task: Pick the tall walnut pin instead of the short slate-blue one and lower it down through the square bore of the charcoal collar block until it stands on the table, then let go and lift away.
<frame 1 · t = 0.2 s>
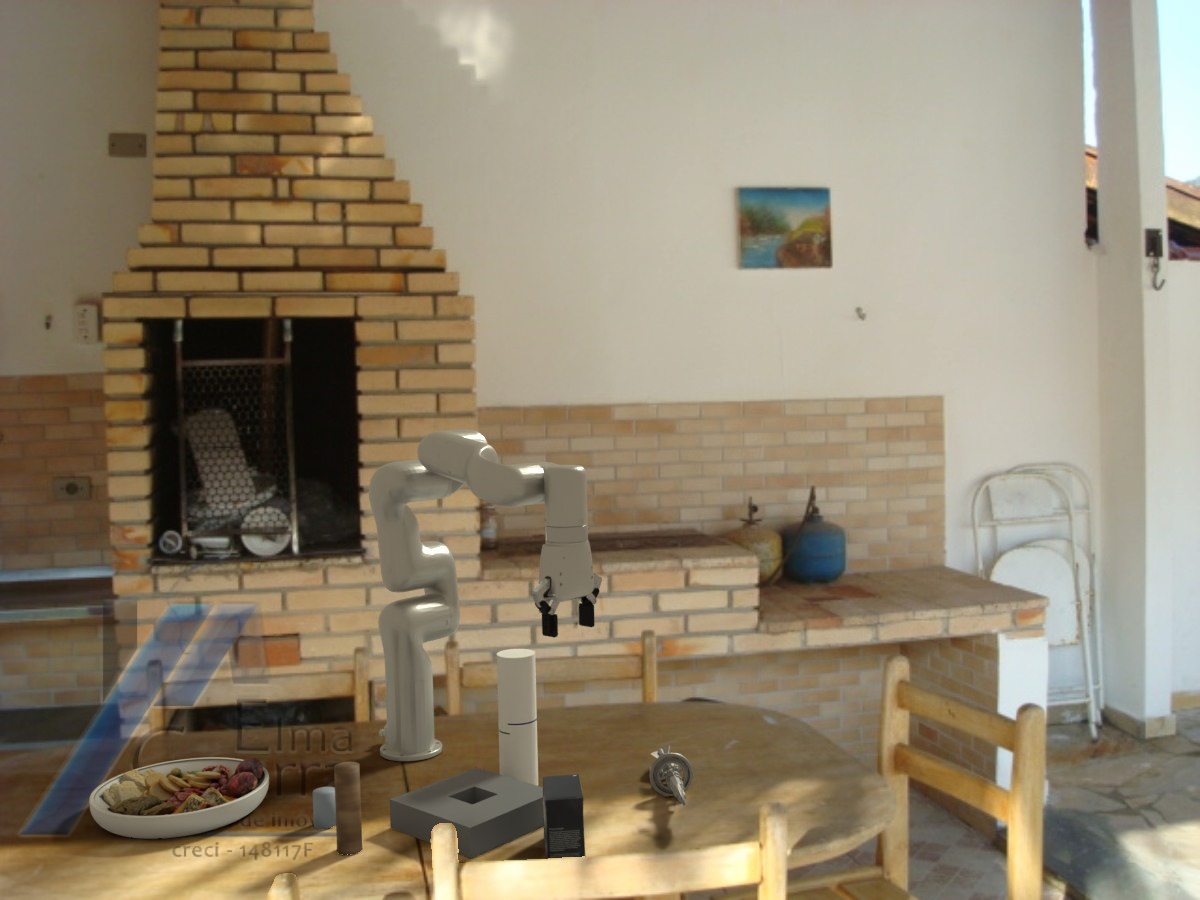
hand: (568, 631, 201), 31 cm above the table, fingers open, 9 cm apart
small box: (564, 850, 183), on the table
cylindrical container: (519, 786, 212), on the table
collar block: (474, 823, 194), on the table
short pin: (325, 825, 195), on the table
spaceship: (671, 797, 205), on the table
long pin: (349, 850, 184), on the table
bowl: (182, 813, 203), on the table
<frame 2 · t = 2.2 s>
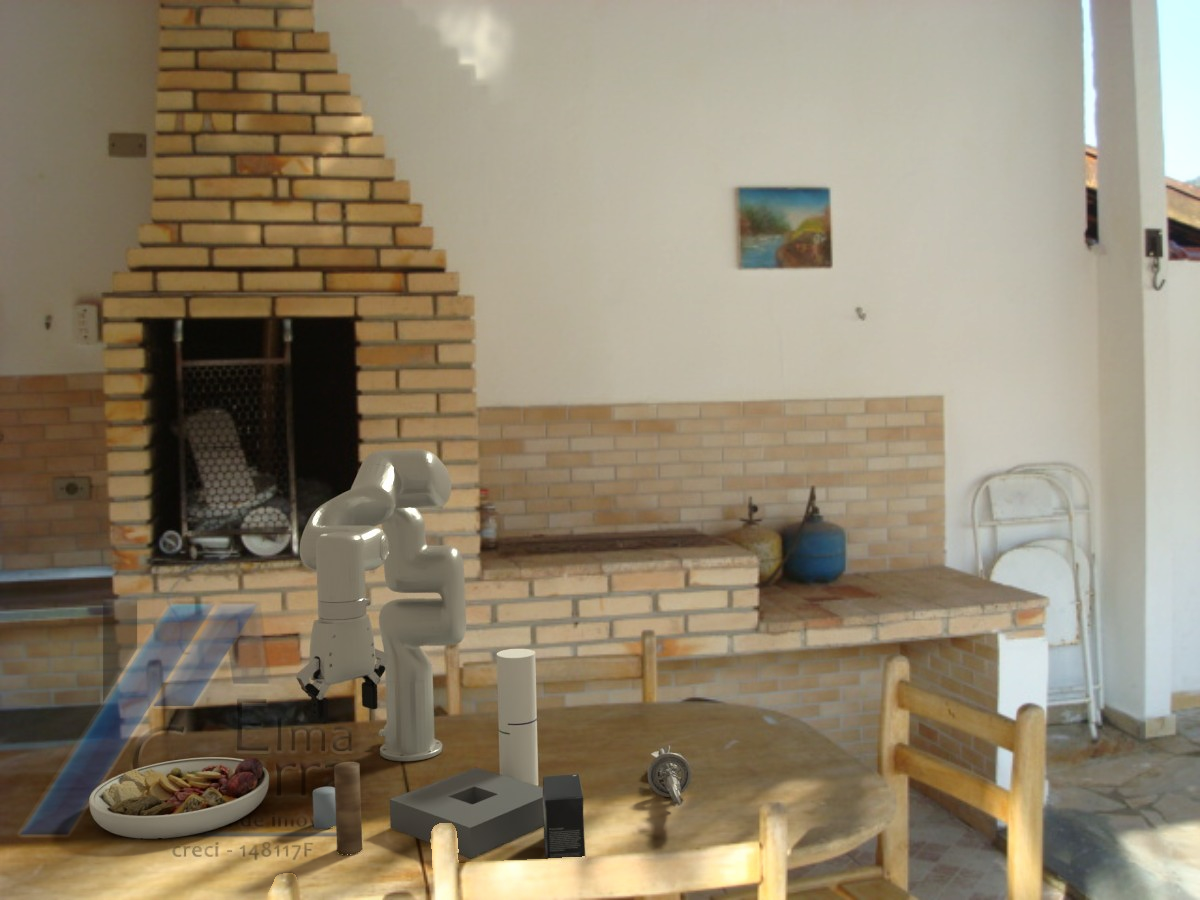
hand: (345, 714, 183), 22 cm above the table, fingers open, 9 cm apart
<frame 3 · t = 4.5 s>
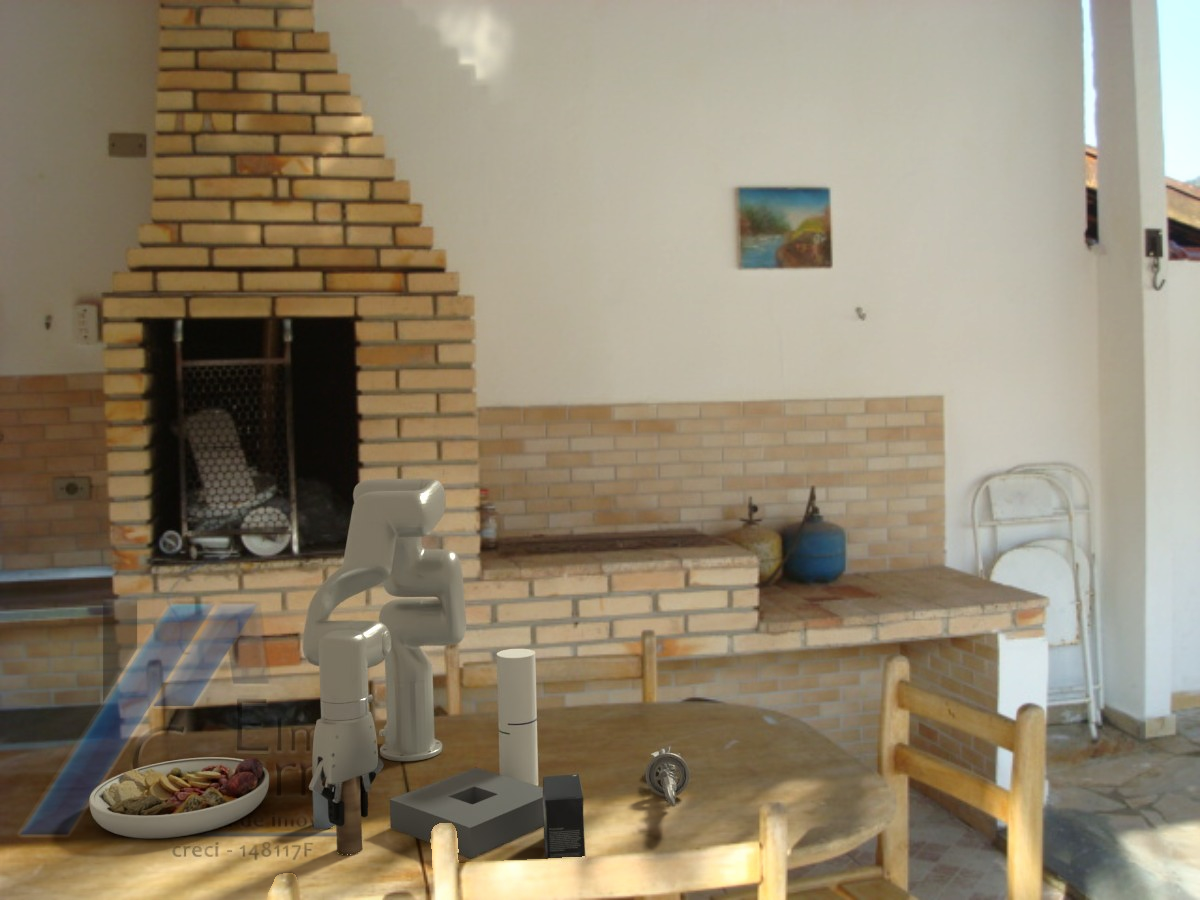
hand: (348, 818, 184), 5 cm above the table, fingers closed on long pin, 4 cm apart
long pin: (349, 850, 184), on the table, touching gripper
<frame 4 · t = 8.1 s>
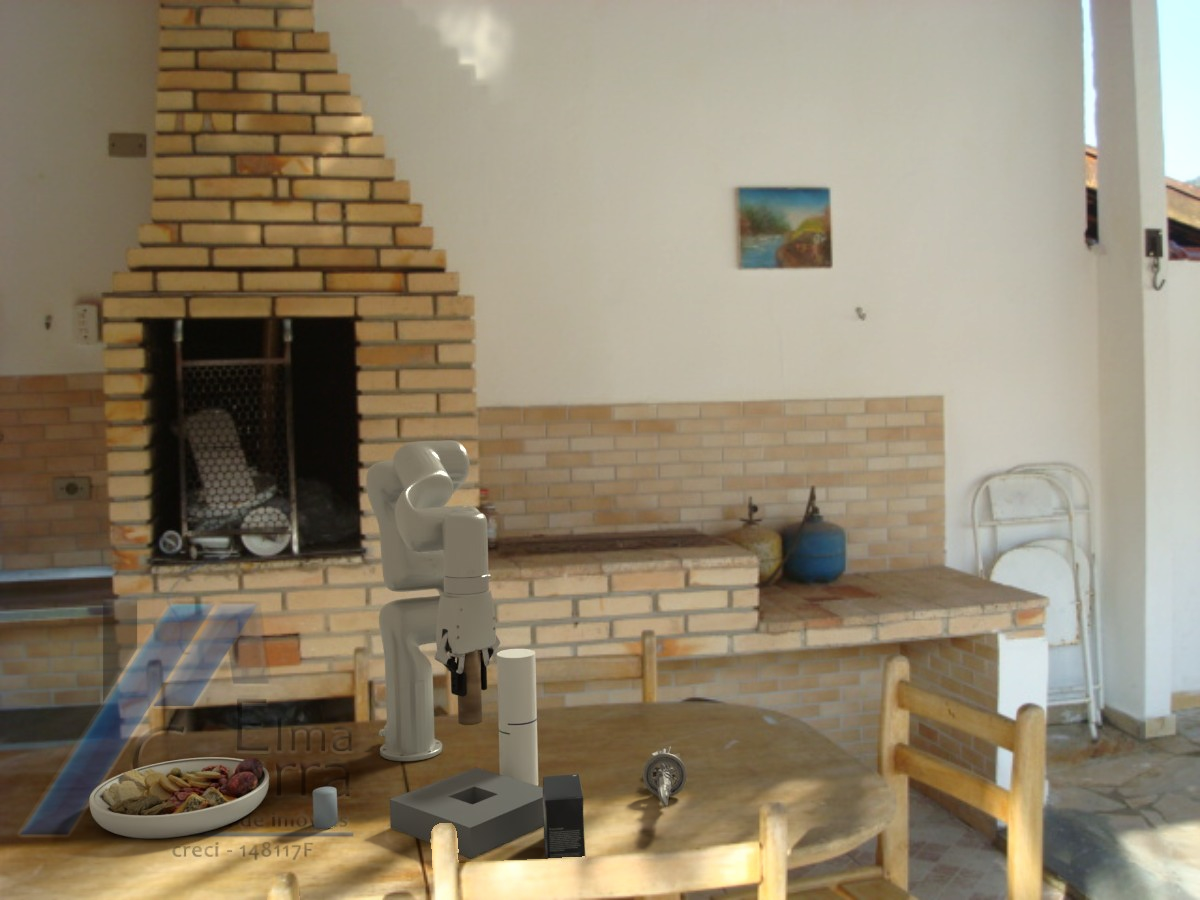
hand: (469, 690, 193), 23 cm above the table, fingers closed on long pin, 4 cm apart
long pin: (470, 721, 193), point 18 cm above the table, touching gripper
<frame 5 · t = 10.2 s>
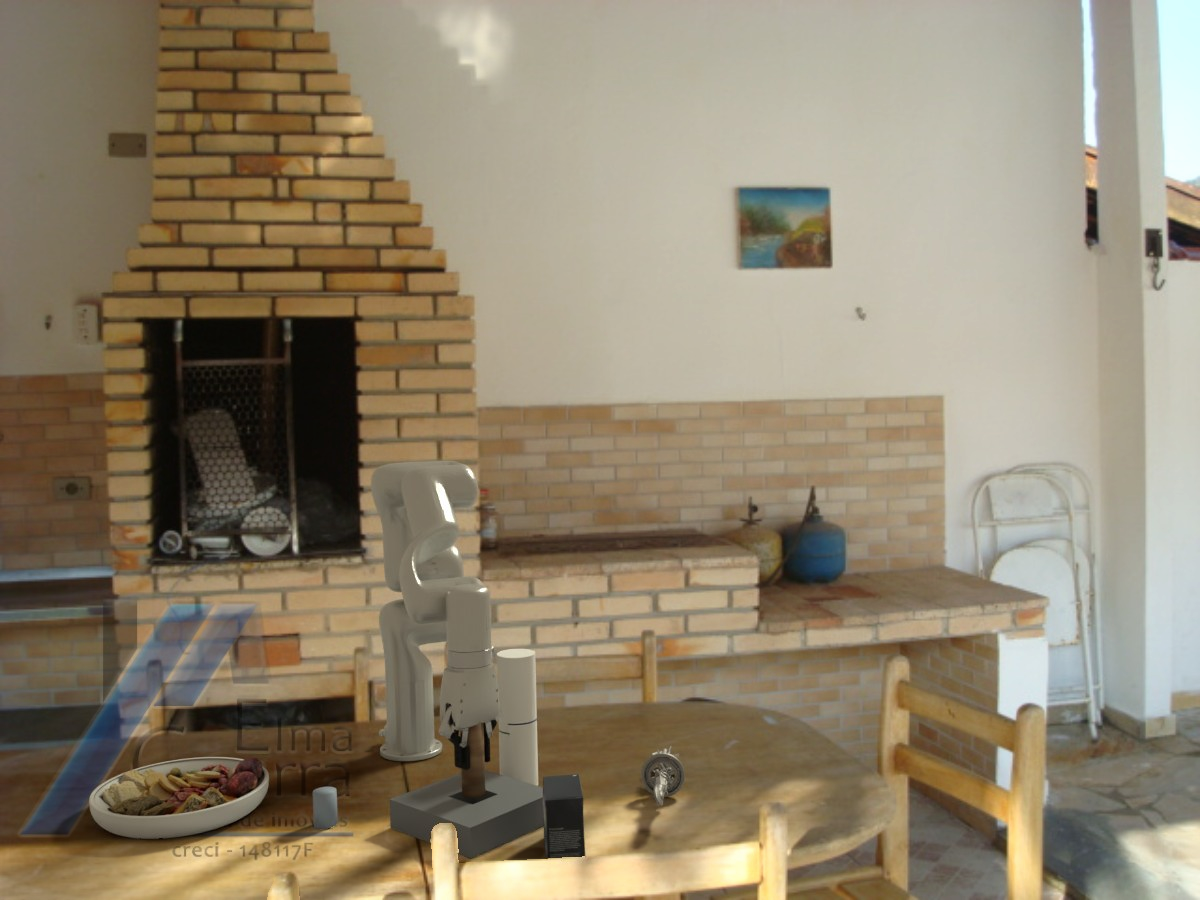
hand: (472, 763, 193), 11 cm above the table, fingers closed on long pin, 4 cm apart
long pin: (473, 793, 194), point 5 cm above the table, touching gripper
when the fingers open (6 cm above the table, at t = 12.1 s): long pin stays where it is, resting in collar block.
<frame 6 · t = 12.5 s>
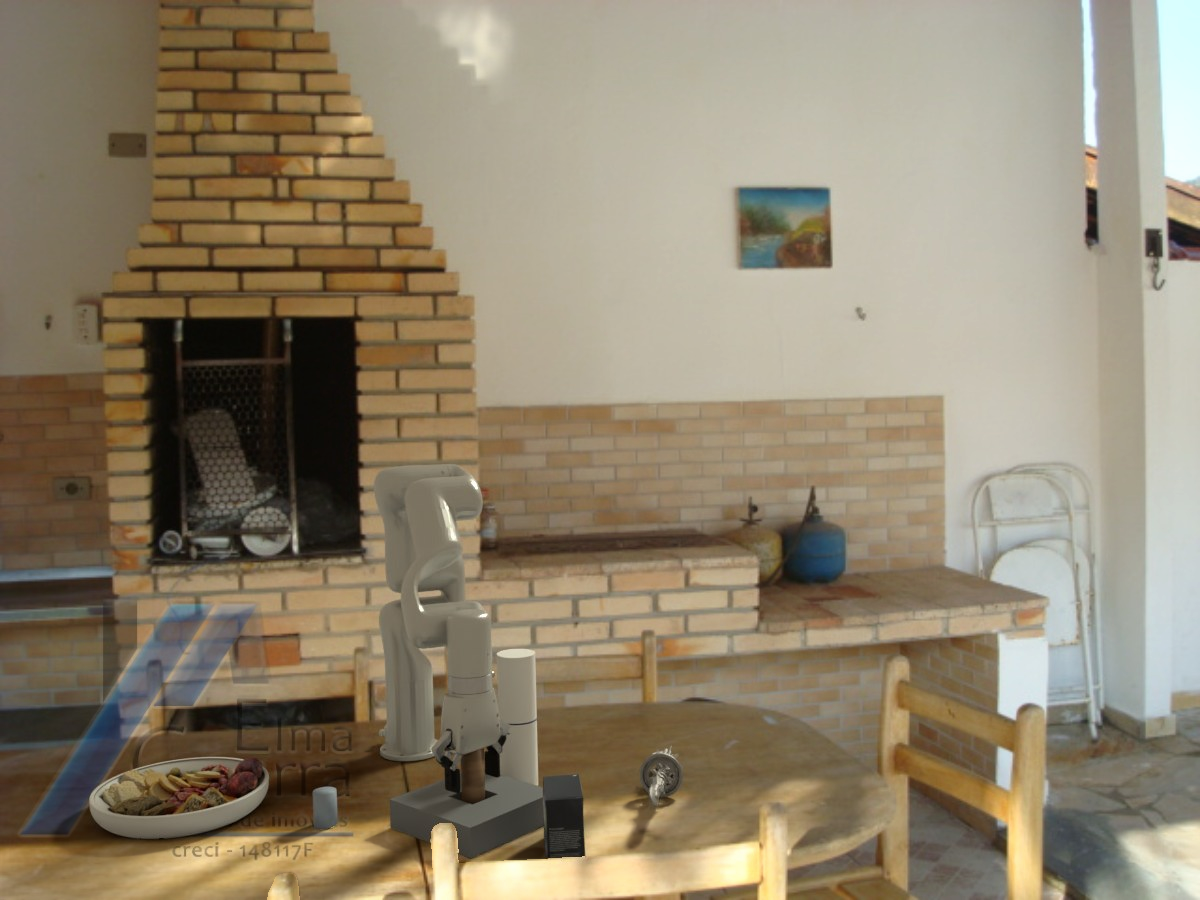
hand: (473, 783, 194), 7 cm above the table, fingers open, 8 cm apart
long pin: (474, 823, 194), resting in collar block
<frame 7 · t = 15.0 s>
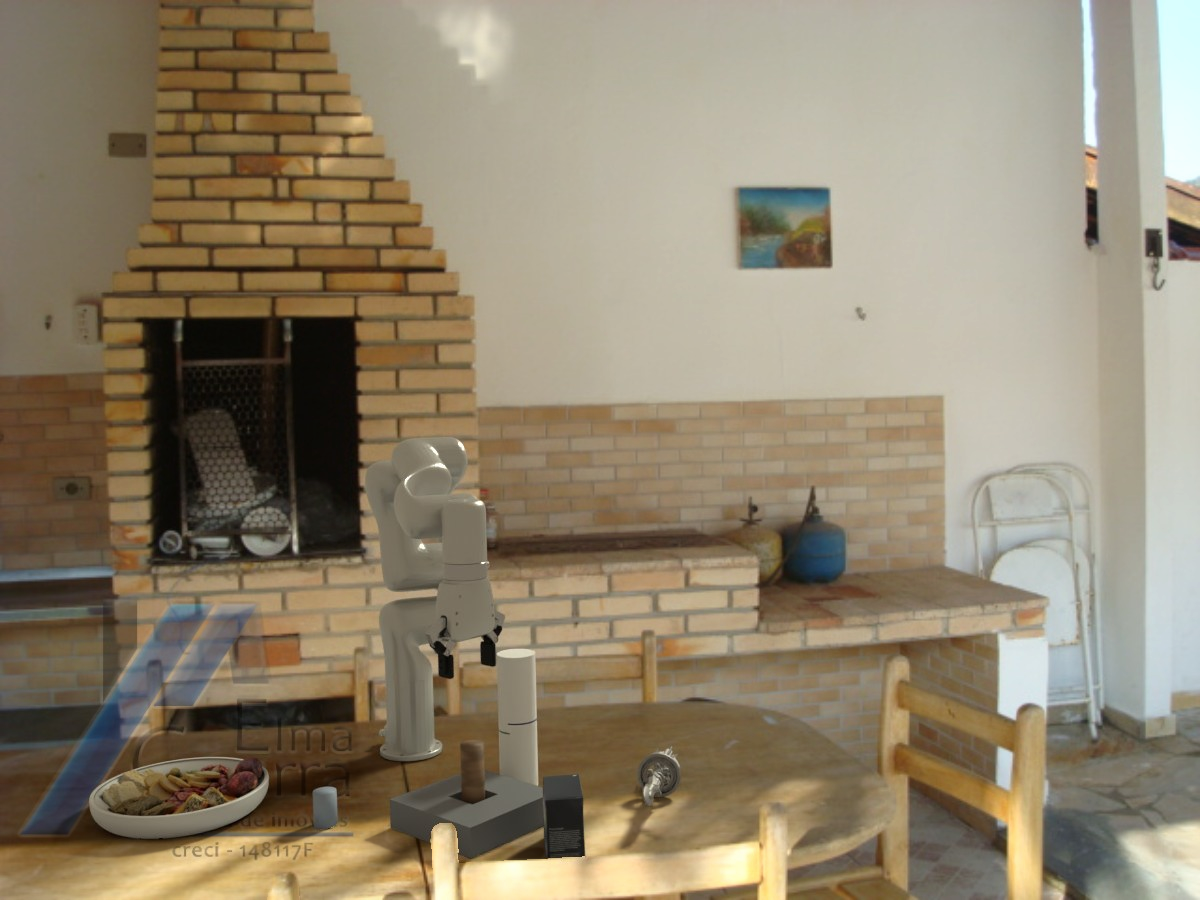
hand: (467, 671, 193), 26 cm above the table, fingers open, 9 cm apart
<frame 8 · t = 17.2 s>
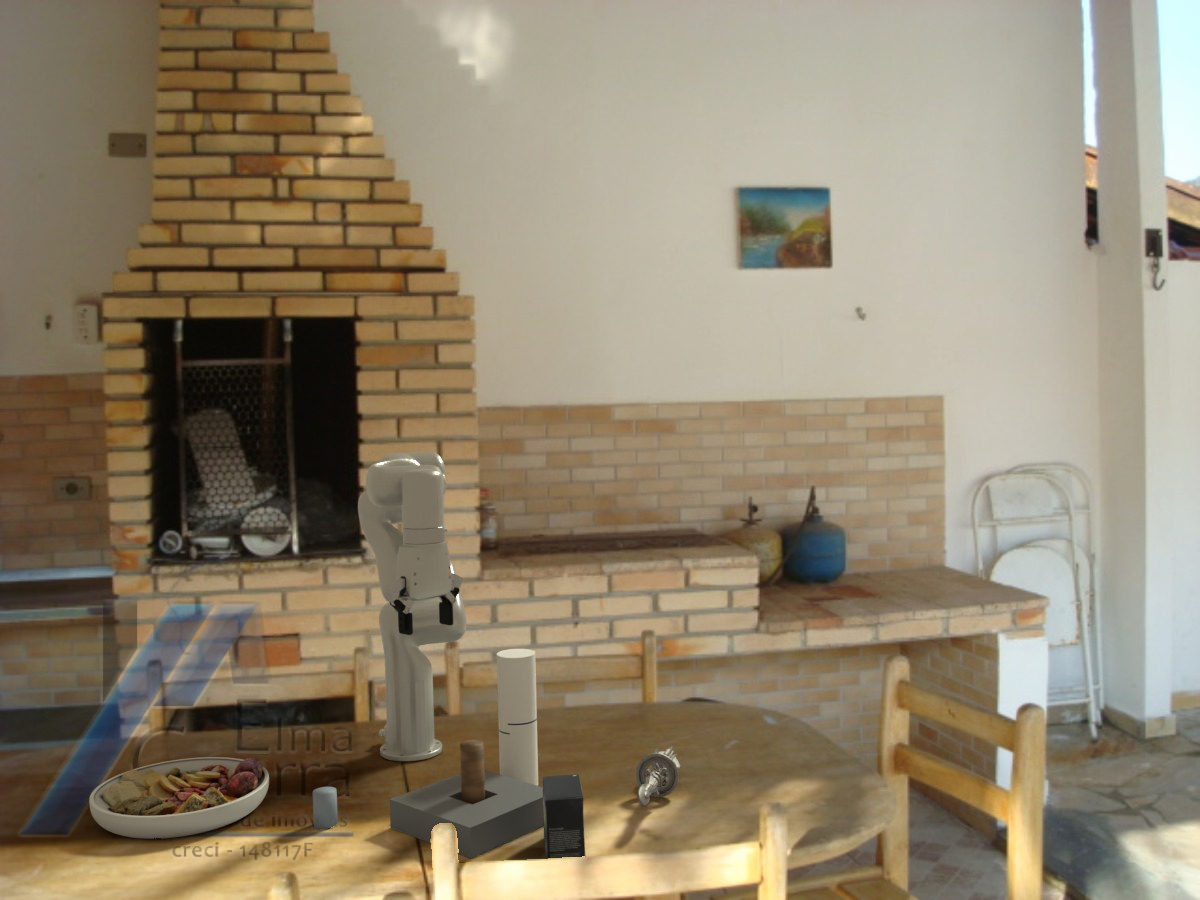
hand: (426, 629, 208), 30 cm above the table, fingers open, 9 cm apart
at the end: long pin 0.0 cm off-centre on the collar block, point 0.0 cm above the collar block's base; long pin tilted 0°; the gripper is holding nothing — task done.
